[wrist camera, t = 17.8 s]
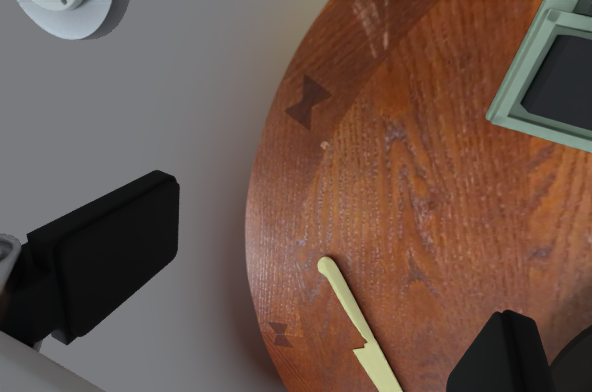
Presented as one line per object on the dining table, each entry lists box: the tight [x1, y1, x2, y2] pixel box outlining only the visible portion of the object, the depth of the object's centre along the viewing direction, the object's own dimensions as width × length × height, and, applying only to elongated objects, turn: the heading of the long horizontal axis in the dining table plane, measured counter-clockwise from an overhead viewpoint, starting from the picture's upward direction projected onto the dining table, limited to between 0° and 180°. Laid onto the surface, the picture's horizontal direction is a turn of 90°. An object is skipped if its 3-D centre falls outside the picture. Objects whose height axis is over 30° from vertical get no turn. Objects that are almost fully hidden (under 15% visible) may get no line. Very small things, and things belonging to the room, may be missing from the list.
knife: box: [318, 257, 403, 392], centre depth 45 cm, size 1×34×5 cm
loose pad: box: [520, 35, 592, 131], centre depth 23 cm, size 5×5×4 cm
